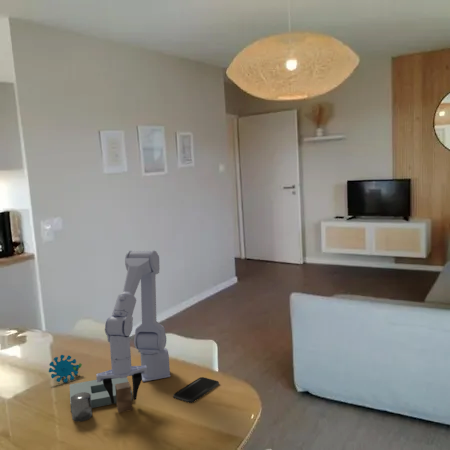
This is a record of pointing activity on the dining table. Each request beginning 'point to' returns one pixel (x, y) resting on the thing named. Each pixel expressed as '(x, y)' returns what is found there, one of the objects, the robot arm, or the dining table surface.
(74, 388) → the socket plate
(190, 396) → the phone
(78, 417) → the gunmetal plug
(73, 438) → the dining table surface
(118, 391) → the walnut peg
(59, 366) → the teal spiky virus toy
